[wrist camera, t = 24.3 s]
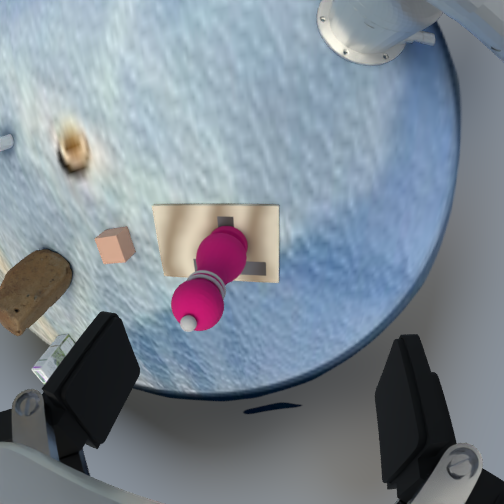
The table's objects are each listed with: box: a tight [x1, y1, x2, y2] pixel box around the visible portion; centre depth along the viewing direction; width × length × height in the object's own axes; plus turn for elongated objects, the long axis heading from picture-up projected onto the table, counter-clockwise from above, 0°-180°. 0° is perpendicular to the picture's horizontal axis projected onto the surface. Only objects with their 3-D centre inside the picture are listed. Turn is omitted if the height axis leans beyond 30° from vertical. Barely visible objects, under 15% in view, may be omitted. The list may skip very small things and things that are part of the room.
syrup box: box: [32, 334, 75, 385], centre depth 65 cm, size 6×6×14 cm
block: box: [0, 249, 72, 336], centre depth 50 cm, size 11×8×20 cm
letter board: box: [152, 204, 279, 283], centre depth 49 cm, size 20×13×1 cm, turn 92°
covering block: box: [95, 226, 136, 264], centre depth 51 cm, size 5×5×4 cm
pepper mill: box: [171, 226, 248, 332], centre depth 40 cm, size 7×7×20 cm
